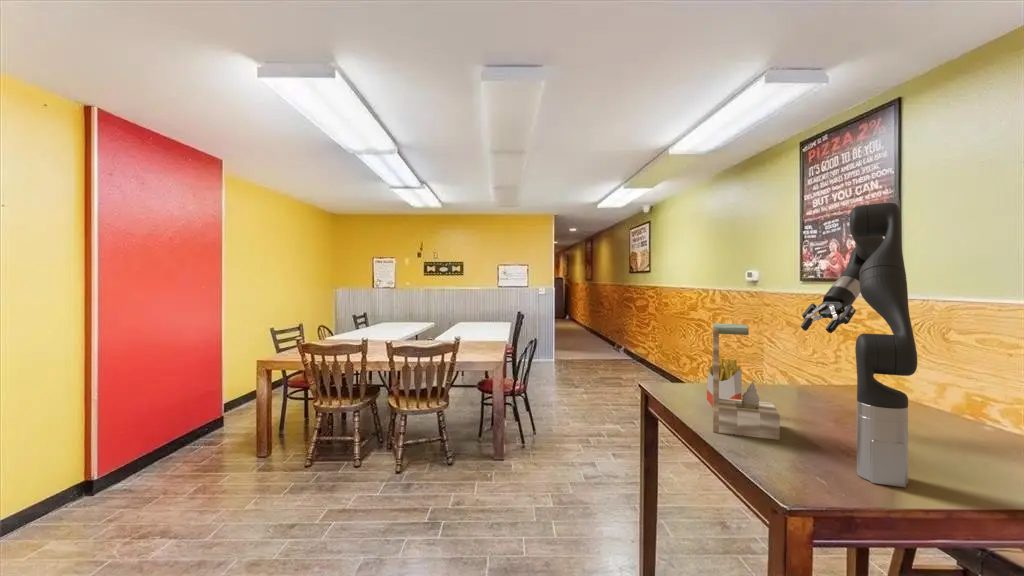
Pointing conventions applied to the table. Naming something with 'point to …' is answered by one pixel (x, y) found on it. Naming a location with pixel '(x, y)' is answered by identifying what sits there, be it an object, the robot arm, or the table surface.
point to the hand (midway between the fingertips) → (815, 330)
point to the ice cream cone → (750, 398)
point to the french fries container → (726, 381)
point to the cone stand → (740, 401)
